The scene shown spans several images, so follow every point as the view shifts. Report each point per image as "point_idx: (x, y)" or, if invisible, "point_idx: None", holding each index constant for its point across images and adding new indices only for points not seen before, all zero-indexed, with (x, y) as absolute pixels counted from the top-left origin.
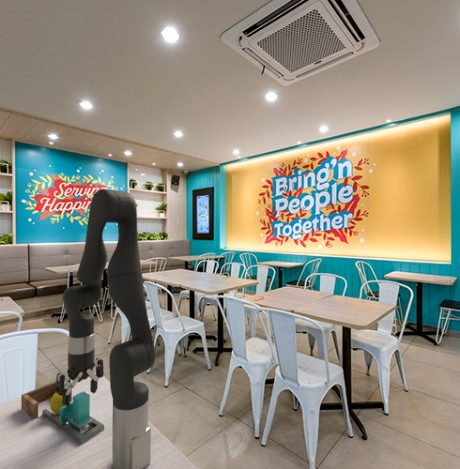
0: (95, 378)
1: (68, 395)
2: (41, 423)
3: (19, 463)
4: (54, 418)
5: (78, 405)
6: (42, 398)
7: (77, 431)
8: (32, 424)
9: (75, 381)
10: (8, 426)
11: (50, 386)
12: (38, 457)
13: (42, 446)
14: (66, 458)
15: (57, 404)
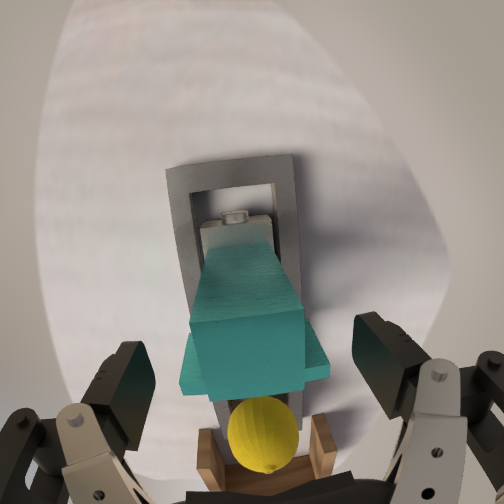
0: (82, 436)
1: (414, 360)
2: (322, 386)
3: (441, 240)
4: None
5: (293, 291)
6: None
7: (278, 225)
8: (339, 395)
9: (437, 473)
10: (373, 414)
11: (246, 493)
12: (408, 220)
13: (380, 267)
14: (357, 129)
15: (285, 421)
